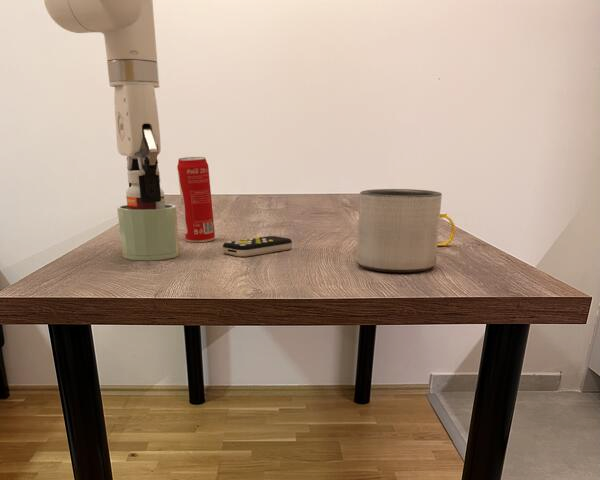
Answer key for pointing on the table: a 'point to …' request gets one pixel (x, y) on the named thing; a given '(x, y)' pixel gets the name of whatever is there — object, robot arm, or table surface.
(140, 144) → the robot arm
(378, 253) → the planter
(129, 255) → the holder
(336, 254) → the table surface
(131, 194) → the pill bottle
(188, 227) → the beverage can
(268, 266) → the table surface
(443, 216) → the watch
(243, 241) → the remote control
